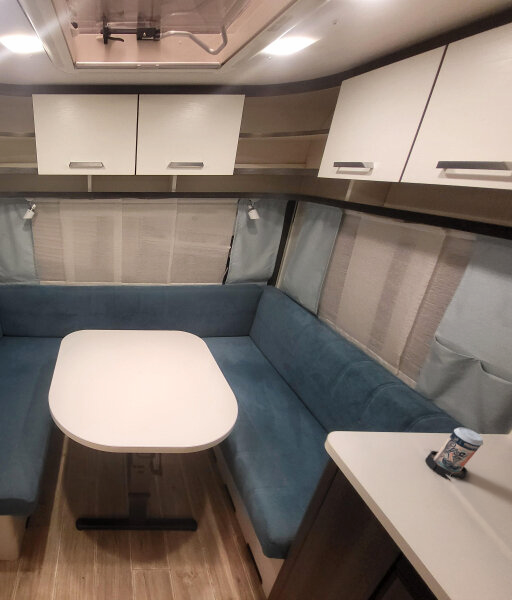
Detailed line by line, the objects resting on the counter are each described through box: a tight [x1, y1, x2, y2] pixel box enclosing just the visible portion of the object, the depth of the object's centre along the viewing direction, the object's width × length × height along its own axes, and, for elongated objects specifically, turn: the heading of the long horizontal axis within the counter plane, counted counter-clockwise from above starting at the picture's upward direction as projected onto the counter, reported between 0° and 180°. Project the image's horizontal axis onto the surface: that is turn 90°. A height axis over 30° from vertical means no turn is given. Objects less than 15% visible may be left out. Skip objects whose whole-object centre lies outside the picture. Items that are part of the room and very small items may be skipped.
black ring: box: [425, 450, 469, 481], centre depth 77 cm, size 7×7×2 cm
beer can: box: [433, 426, 484, 474], centre depth 74 cm, size 5×5×12 cm
